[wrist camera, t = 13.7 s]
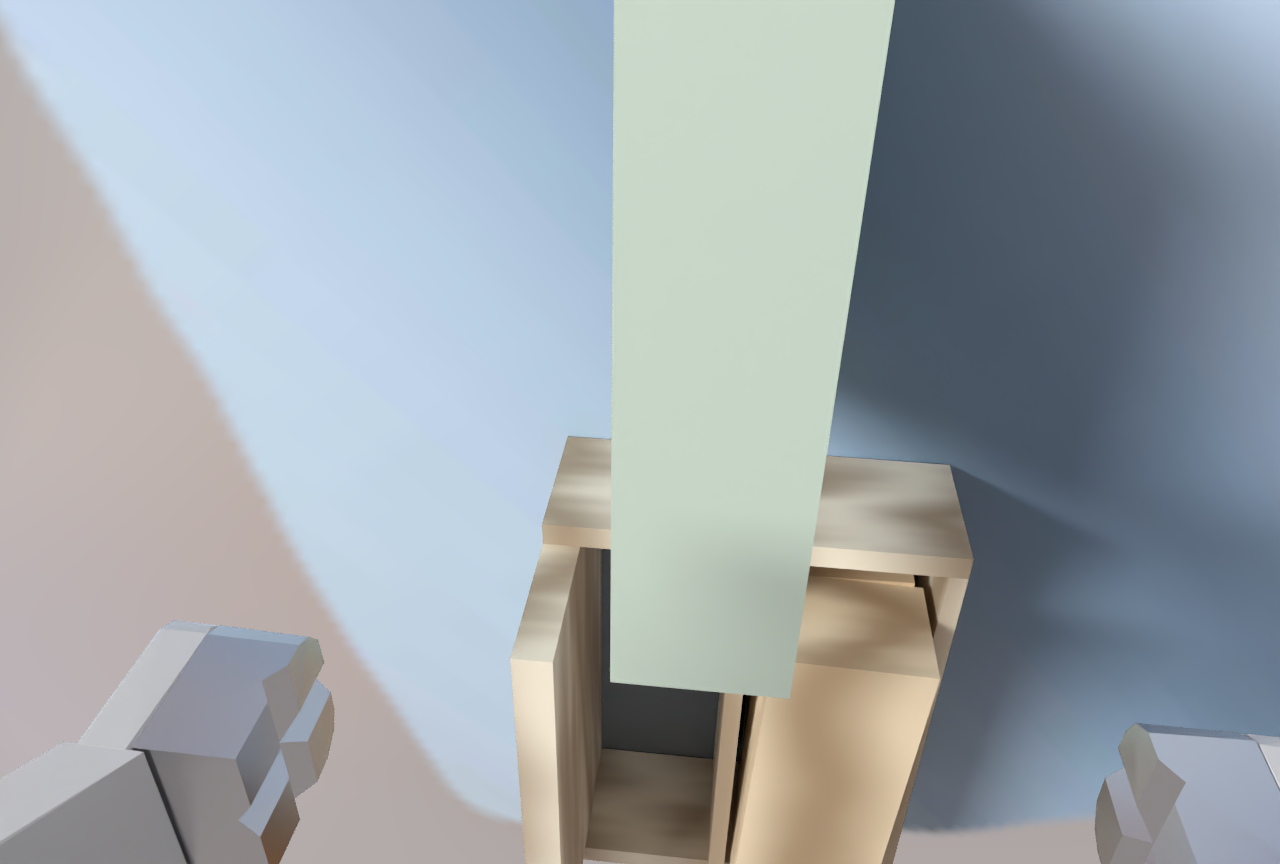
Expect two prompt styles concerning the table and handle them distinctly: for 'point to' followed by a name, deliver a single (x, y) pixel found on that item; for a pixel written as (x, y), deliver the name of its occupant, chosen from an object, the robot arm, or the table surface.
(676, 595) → the sheet
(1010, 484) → the table surface
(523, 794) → the box
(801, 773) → the upper offcut
